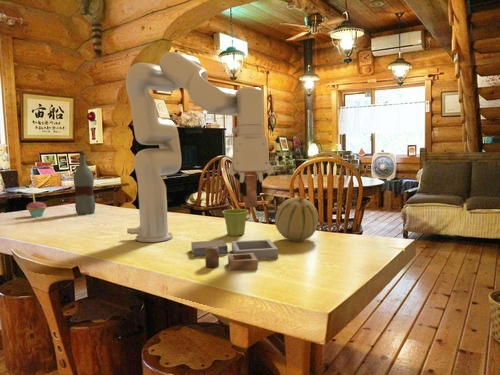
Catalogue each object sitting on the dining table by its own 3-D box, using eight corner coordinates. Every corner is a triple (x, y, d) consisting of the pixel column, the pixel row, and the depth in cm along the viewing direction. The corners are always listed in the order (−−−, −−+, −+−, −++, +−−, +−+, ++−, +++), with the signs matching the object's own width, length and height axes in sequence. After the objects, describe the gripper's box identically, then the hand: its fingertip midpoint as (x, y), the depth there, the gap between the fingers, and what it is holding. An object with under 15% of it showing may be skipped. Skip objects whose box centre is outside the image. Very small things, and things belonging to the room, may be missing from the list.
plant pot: (245, 237, 144) (245, 213, 143) (219, 236, 146) (219, 212, 145) (251, 232, 153) (250, 209, 152) (226, 231, 155) (226, 208, 154)
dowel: (245, 207, 117) (245, 176, 116) (244, 205, 121) (243, 175, 120) (258, 207, 118) (257, 175, 117) (256, 205, 121) (256, 174, 120)
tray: (236, 260, 115) (236, 251, 115) (231, 250, 127) (231, 241, 127) (278, 258, 117) (277, 248, 117) (269, 247, 129) (269, 239, 129)
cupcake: (41, 217, 193) (39, 192, 192) (23, 217, 194) (21, 192, 192) (50, 214, 202) (48, 190, 201) (33, 214, 202) (31, 190, 201)
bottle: (88, 215, 198) (84, 152, 194) (71, 214, 200) (67, 153, 197) (99, 212, 207) (96, 152, 204) (83, 211, 209) (79, 152, 206)
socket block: (231, 270, 106) (230, 261, 106) (228, 263, 113) (228, 254, 113) (257, 269, 107) (257, 259, 107) (253, 261, 114) (253, 252, 114)
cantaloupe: (290, 233, 149) (290, 192, 147) (326, 239, 140) (326, 195, 138) (266, 241, 138) (265, 197, 136) (303, 247, 128) (303, 200, 127)
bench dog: (205, 268, 109) (205, 249, 108) (205, 264, 112) (204, 246, 112) (219, 267, 109) (219, 248, 109) (218, 263, 113) (217, 245, 112)
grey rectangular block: (194, 258, 120) (193, 248, 120) (191, 251, 128) (191, 242, 128) (227, 255, 122) (227, 245, 122) (223, 249, 130) (223, 239, 130)
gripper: (222, 131, 112) (223, 198, 114) (281, 131, 114) (281, 196, 116) (220, 132, 120) (221, 194, 122) (276, 132, 122) (276, 193, 124)
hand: (251, 195), depth 119 cm, fingers closed on dowel, 3 cm apart
